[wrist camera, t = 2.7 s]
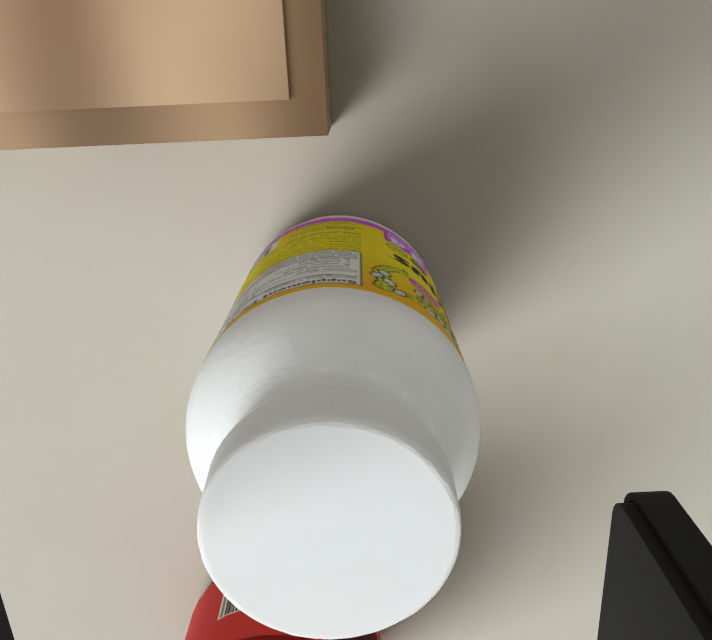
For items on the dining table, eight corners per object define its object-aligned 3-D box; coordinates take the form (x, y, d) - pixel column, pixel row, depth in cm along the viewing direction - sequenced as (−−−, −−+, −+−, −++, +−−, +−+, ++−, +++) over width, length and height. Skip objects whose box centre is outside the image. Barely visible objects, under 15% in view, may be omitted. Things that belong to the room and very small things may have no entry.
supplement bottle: (449, 367, 25) (543, 652, 13) (275, 404, 25) (205, 712, 13) (413, 188, 22) (486, 327, 10) (222, 233, 23) (79, 415, 11)
